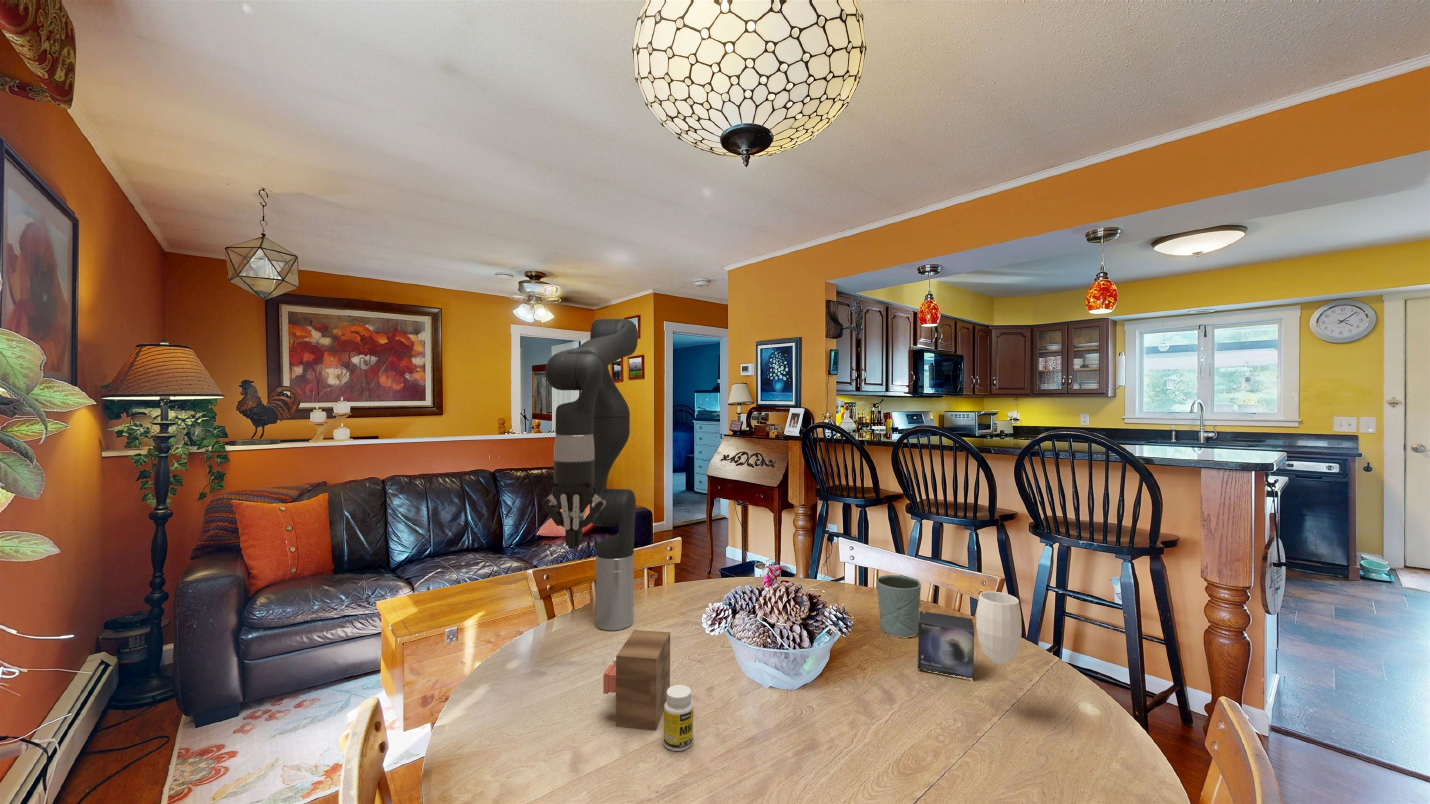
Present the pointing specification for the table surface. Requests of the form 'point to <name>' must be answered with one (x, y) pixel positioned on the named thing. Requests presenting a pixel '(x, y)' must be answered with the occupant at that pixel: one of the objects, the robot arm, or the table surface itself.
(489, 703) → the table surface
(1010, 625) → the cup
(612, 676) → the red button
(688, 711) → the supplement bottle
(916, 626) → the green embossed pot
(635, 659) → the walnut box
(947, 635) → the small box
